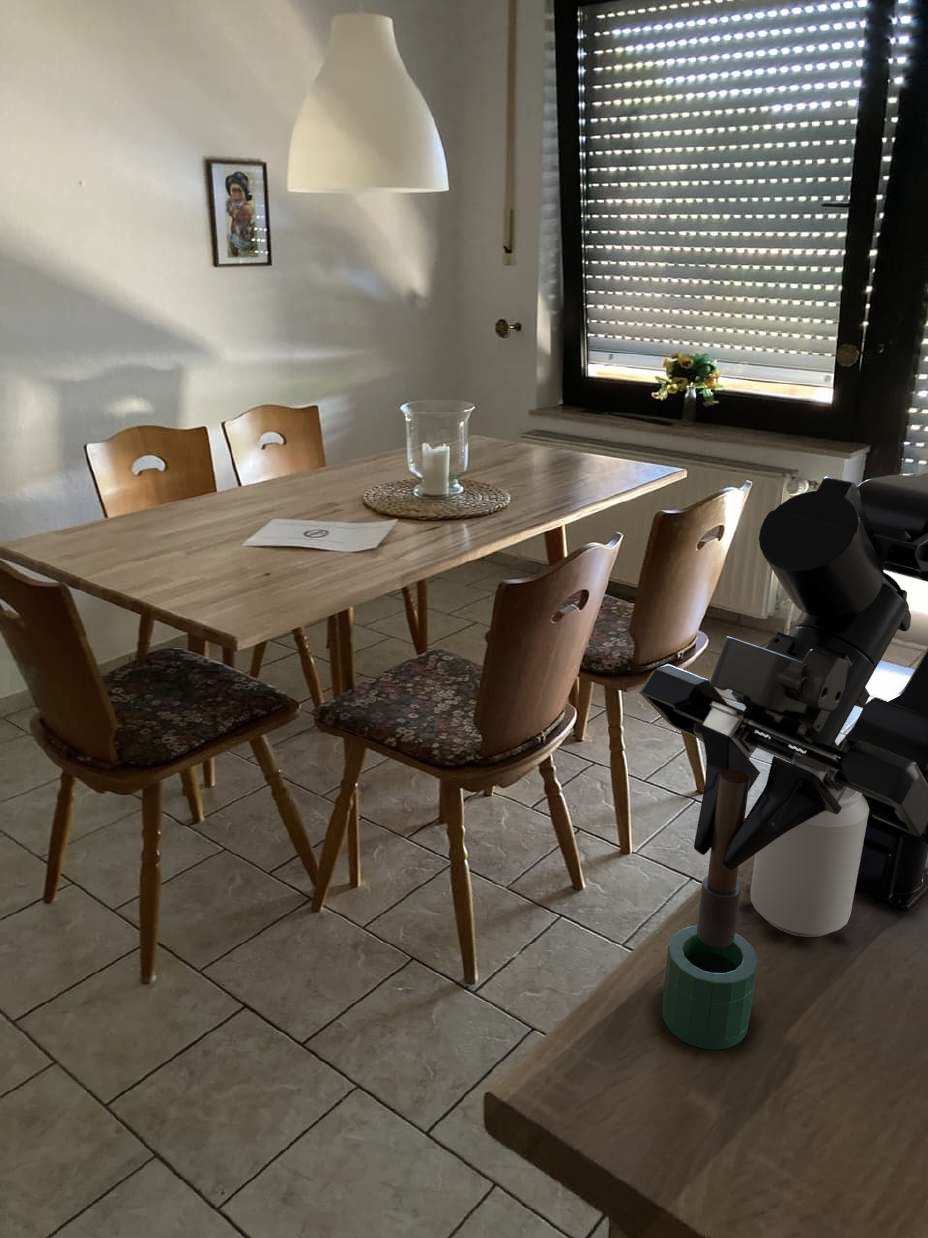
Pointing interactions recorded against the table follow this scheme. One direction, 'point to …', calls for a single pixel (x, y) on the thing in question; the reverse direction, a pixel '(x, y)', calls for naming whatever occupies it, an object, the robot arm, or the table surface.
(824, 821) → the can
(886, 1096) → the table surface
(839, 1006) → the table surface
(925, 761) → the robot arm
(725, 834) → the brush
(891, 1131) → the table surface
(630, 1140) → the table surface
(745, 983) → the teal hollow cylinder
